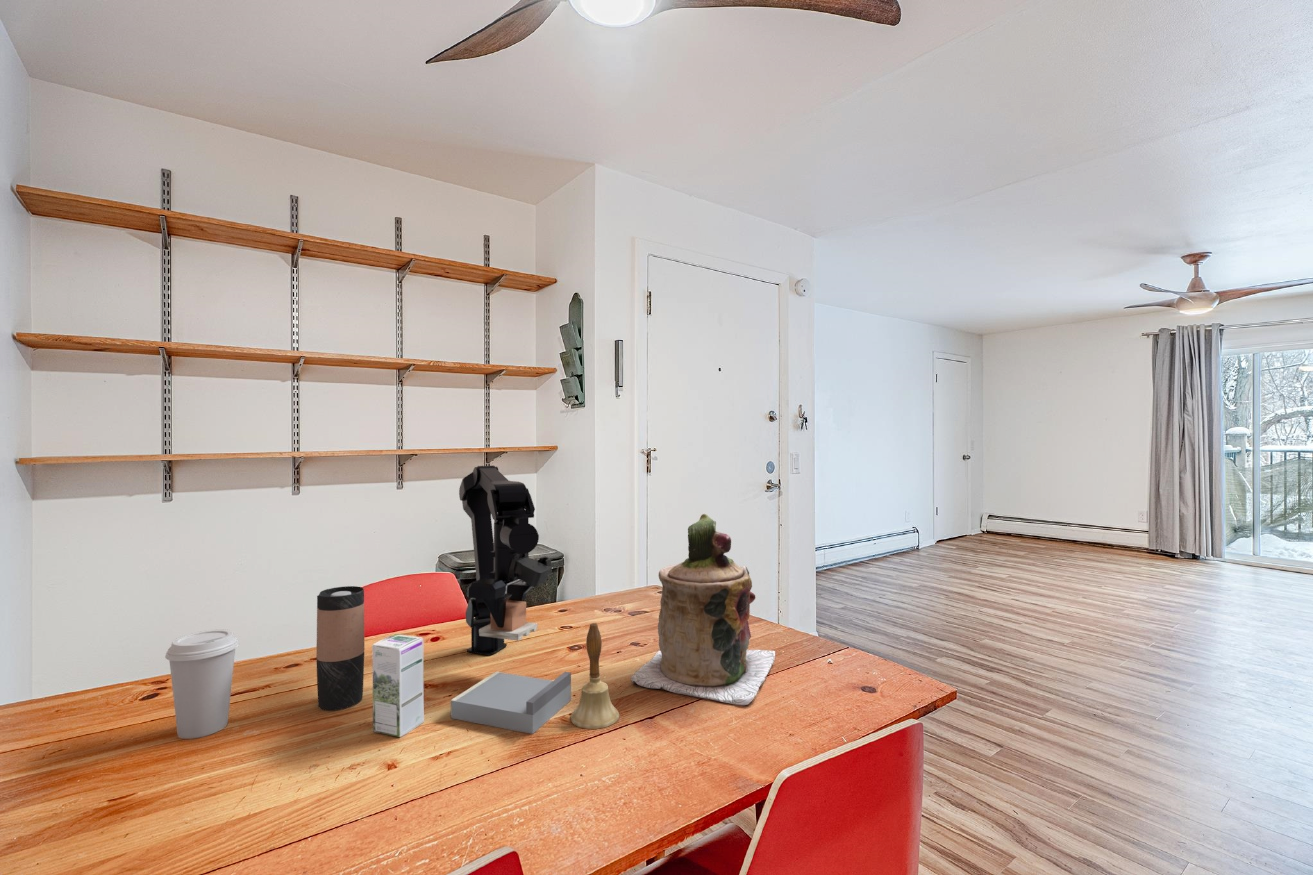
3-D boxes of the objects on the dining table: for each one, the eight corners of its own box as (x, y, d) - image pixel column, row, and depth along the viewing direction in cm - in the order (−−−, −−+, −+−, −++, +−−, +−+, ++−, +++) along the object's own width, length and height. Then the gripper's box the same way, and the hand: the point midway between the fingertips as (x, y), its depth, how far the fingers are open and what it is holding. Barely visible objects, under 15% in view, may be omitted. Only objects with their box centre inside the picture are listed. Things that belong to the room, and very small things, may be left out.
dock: (450, 718, 99) (450, 688, 99) (496, 687, 111) (496, 661, 111) (532, 733, 93) (532, 702, 93) (570, 699, 106) (570, 672, 106)
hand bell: (592, 734, 93) (592, 635, 93) (560, 718, 99) (560, 624, 99) (629, 716, 99) (629, 623, 99) (597, 701, 105) (597, 613, 105)
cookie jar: (625, 687, 111) (625, 520, 111) (671, 645, 134) (670, 507, 134) (753, 709, 102) (752, 527, 102) (778, 660, 125) (778, 511, 125)
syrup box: (425, 722, 97) (425, 635, 97) (399, 739, 92) (399, 647, 92) (398, 716, 99) (398, 631, 99) (370, 733, 94) (370, 643, 94)
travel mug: (373, 697, 107) (374, 588, 107) (335, 715, 100) (335, 598, 100) (345, 689, 110) (345, 584, 110) (306, 706, 103) (306, 593, 103)
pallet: (478, 635, 115) (478, 606, 115) (499, 625, 121) (499, 597, 121) (518, 640, 112) (518, 610, 112) (537, 629, 118) (537, 601, 118)
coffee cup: (156, 749, 89) (157, 651, 89) (174, 722, 97) (174, 633, 97) (233, 734, 93) (233, 641, 93) (243, 710, 102) (243, 624, 102)
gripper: (517, 556, 105) (517, 643, 105) (566, 540, 123) (566, 614, 123) (465, 553, 109) (465, 636, 109) (521, 537, 126) (521, 609, 126)
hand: (508, 623), depth 116 cm, fingers closed on pallet, 5 cm apart
